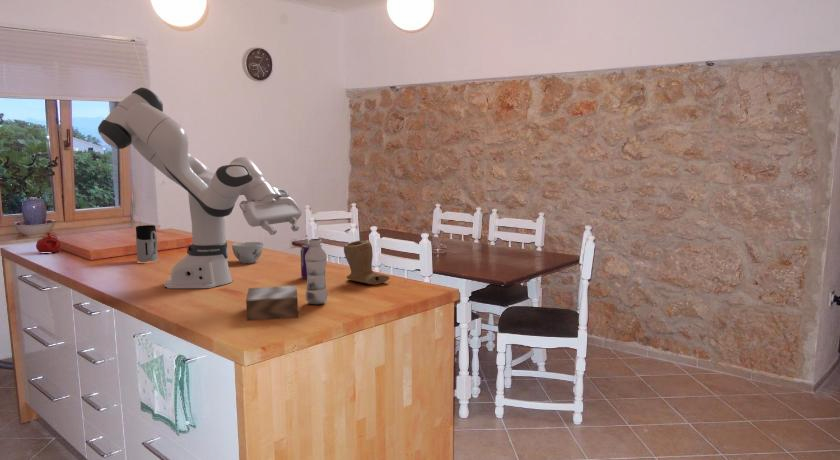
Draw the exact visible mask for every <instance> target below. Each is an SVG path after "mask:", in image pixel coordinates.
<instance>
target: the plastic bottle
mask: <svg viewBox="0 0 840 460" xmlns="http://www.w3.org/2000/svg"><path fill="white" fill-rule="evenodd" d="M308 244H309V246H310V248H309V250H308V251H307V253H306V255H305V262H306V268H307V279H306V290H305V301H306V303H308V304H310V305H320V304H324V303H326V301H327V300H328V290H327V289H328V288H327V284H326V268H327V253H326V252H325V250H324V249H323V248H322V247H323V243H322V239H321V238H309V240H308Z"/></svg>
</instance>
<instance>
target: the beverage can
mask: <svg viewBox="0 0 840 460" xmlns="http://www.w3.org/2000/svg"><path fill="white" fill-rule="evenodd" d="M309 248H310V246H309V243H308V244H303V245H301V249H300V271H301V272H300V273H301V274H300V275H301V278H303V279H306V280H307V268H306V262H305V255H306V253H307V251H308V250H309Z"/></svg>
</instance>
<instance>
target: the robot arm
mask: <svg viewBox="0 0 840 460" xmlns="http://www.w3.org/2000/svg"><path fill="white" fill-rule="evenodd" d="M163 111H164V104H163V102H162V100H161V99H160V98H159V95H157V94H156V93H155V92H153V91H151V90H150V89H149V88H146V87H139V88H137V89H135V90H133V91H131V94H129V95H128V96H126V97H125V98H124V99H123V100H121V101H119V102H118V103H117V105H116V107H115V108H114V109H112V110H111V111H110V113H109V114H108V115H107V116H106V117H105V119H102V121H101V122H100V123H99V125H98V127H97V131H98V134H99V136H100V138H101V139H102V140H103V141H104V143H106V144H107V145H109V146H110V147H113V148H115V149H117V150H124V149H125V148H127V147H129V146H133V148H134V149H135V150H136V151H137V152H138V153H139V154H140V155H141V156H142V157H143V158H144V159H145V160H147V162H148V163H150V164H151V165H152V166H154V167H155V168H156V169H157V170H158V171H160V173H162V174H163V175H164V176H166V177H167V178H168V179H170V180H171V181H172V182H174V183H176V184H178V186H180V187H181V188H183V189H184V190H185V191H187V194H188V195H187V196H188V204H189V213H190V220H191V233H192V235H191V236H192V237H191V238H192V243H188V244H187V245H186V253H187V255H186V256H185V257H183V258H182V259H181V260H180V261H178V262H177V263H176V264H175V265H173V267H172V270H171V274H170V278H169V279H167V280H165V282H164V288H165V287H167V288H166V289H210V288H215V287H217V286H223V285H226V284H227V285H228V284H230V283H232V282H233V278H232V275H231V272H230V268H229V262H228V261H229V260H228V257H229V249H228V248H229V247H228V242H227V240H226V219H225V217H228V216H230V215H231V214H232V212H233V210H234V208H235V204H236V203H237V200H238V199H239V197H240V196H242V195H243V196H244V197H245V199H246V200H242V201H241V202H239V208H240V210H241V212H242V214H243V216H244V220H245V221H246V223H247V224H248V225H249V226H250V227H252V228H255V227H261V228H262V229H264V230H265V231H267V232H268V233H269V235H270V236H273V235H274V236H275V235H276V233H277V229H276V227H275V226H271V225H275V224H276V225H277V224H283V223H288V222H289V224H291V227H290V229H291V230H292V231H293V232H298V231H299V229H300V226H299V225H298V222H297V221H298V220H299V219H300V218H301V216H302V213H303V212H302V210H301V208H300V207H299V205H298V204H297V202H296V201H295V200H294V199H293V198H292V197H290V193H289V191H287V190H286V189H280V188H277V187H274V186H272V185H271V184H270V183H269V182H268V181H267V180H266V178H265V175H264V174H263V172H262V171H261V170H260V168H259V167H258V165H256V163H254V162H253V161H252V160H251V159H250V158H248V157H246V156H245V157H244V156H241V157H236V158H235V159H233V160H232V161H230V163H229V164H225V165H221V166H219V167H217V169H216V171H215V172H214V171H213V170H212V169H211V168H209V167H208V166H207V165H206V164H204V163H203V162H202V161H200V160H199V159H198V158H196V157H195V156H194V155H193V154H191V153H190V152H189V137H188V133H187V132H186V130H185V129H184V127H182V125H181V124H180V123H178V122H177V121H176V120H174V119H173V118H172V117H171V116H169V115H168V114H166V113H165V112H163Z"/></svg>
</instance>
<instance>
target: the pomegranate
mask: <svg viewBox="0 0 840 460" xmlns="http://www.w3.org/2000/svg"><path fill="white" fill-rule="evenodd" d="M46 234H47V236H46V235H43V236H42V235H41V236H40V237H38V240H37V242H36V245H35V247H36V250H37V251H38V253H40V252H56V251H59V250H60V251H61V249H60V243H61V241H60V240H59V238H58V237H57V236H55V235H53V234H52V235H51V232H47V233H46ZM40 238H41V239H40ZM57 239H58V240H59V241H60V242H59V241H58V240H57ZM60 251H59V252H60ZM56 253H57V252H56Z"/></svg>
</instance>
